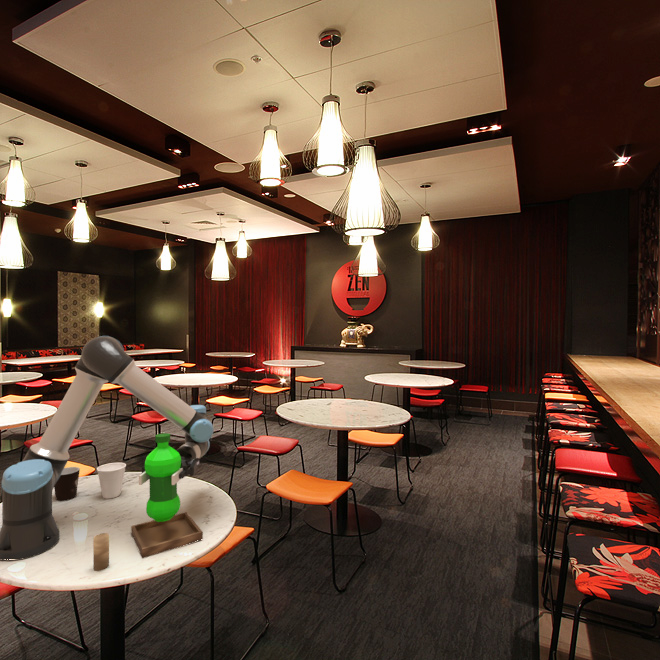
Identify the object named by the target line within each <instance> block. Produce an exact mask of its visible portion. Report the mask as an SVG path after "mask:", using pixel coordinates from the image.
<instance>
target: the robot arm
mask: <svg viewBox="0 0 660 660" xmlns="http://www.w3.org/2000/svg"><path fill="white" fill-rule="evenodd" d="M74 369H75V372H76V375H75V376H74V378H73V380H72V382H71V384H70V386H69V388H68V390H67V391H66V393H65V394H64V397H63V399H61V402H60V404H59V406H58V408H57V410H56V411H55V413H54V415H53V417H52V418H51V420H50V422H49V423H48V425H47V427H46V429H45V431H44V432H43V434H42V436H41V438H40V440H39V442H37V443H35V444H32V445H30V447H29V449H28V450H27V452H26V454H25V456H24V458H23V459H22V461H19V462H17V463H16V464H12V465H11V466H8V467H7V468H6V469H5V470H4V472H3V474H2V479H1V489H2V491H1V493H2V494H1V497H2V499H1V500H2V501H1V505H2V514H1V515H2V517H1V520H2V525H1V528H0V559H6V560H7V559H8V560H9V559H19V560H23V559H22V558H24V559H28V558H31V557H33V556H34V555H35V556H37V555H40V554H43V553H44V552H46V551H48V550H50V549H51V548H53V547H55V546H56V545H57V544H58V543H59V541H60V530H59V527H58V525H57V522H56V520H55V518H54V515H53V490H54V486H55V484H56V482H57V481H58V479H59V478H60V476H61V473H62V471H63V469H64V468H66V465H67V463H68V461H69V460H70V453H69V452H68V451H69V449H70V447H71V445H72V443H73V442H74V440H75V438H76V436H77V434H78V432H80V431H79V430H80V428H81V426H82V425H83V423H84V421H85V420H86V418H87V416H88V414H89V411H90V409H91V408H92V407H93V405H94V403H95V401H96V399H97V397H98V395H99V393H100V391H101V390H102V388H103V386H104V385H105V384H107V383H108V382H109V383H111V384H113V385H114V384H117V385H119V386H121V387H122V388H123V389H124V390H126V391H128V392H129V393H130V394H131V395H133V396H135V397H136V398H137V399H138V400H140V401H141V402H143V403H144V404H146V405H147V406H148V407H150V409H153V410H154V411H156V412H157V413H158V414H159V415H161V416H162V417H163V418H165V419H166V420H168V421H170V423H172V424H174V425H175V426H176V427H177V428H178V429H180V430H182V431H183V432H184V443H183V444H182V445H181V446H179V448H177V449H175V450H176V451H177V452H179V454H180V456H181V467H180V469H179V470H178V471H177V472H175V473H174V474H173V475H172V485H175V484H176V483H178V482H179V481H180V480H182V479H184V478H185V477H188V476H189V477H193V476H194V475H195V473H196V470H197V468H198V467H199V466H200V459H201V458H203V456H205V455H206V454H207V452H208V451H209V449H210V446H211V445H210V444H211V443H210V439H211V438H212V436H213V434H214V432H215V431H214V425H213V423H212V422H211V421H210V420H209V419H208V417H207V407H206V406H205V405H203V404H192V405H189V404H188V403H187V402H185V401H184V400H183V399H182V398H180V397H178V396H177V395H176V394H175V393H173V392H172V391H170V390H169V389H168V388H167V387H166V386H164V385H162V384H161V383H160V382H159V381H157V380H156V379H155V378H153V377H152V376H151V375H149V374H148V373H146V372H145V371H144V370H143V369H141V368H140V367H139V366H137V365H136V364H135V359H134V358H133V357H131V356H130V355H128V354H127V352H126V351H125V349H124V346H123V344H122V343H121V342H120V340H118V339H116V338H114V337H112V336H109V335H102V336H101V335H100V336H98V337H97V336H96V337H94V338H92V339H90V340H88V342H86V344H85V345H84V346H83V347H82V350H81V356H80V357H79V359H78V361H77V363H76V364H75V366H74ZM147 481H150V479H149V475H148V474H147V473H146V471H145V465H143V466H141V474H139V475H138V485H139V486H143V484H144V483H146V482H147ZM30 556H31V557H30ZM27 557H28V558H27ZM6 560H5V561H6ZM9 561H10V560H9Z"/></svg>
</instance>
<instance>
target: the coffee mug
mask: <svg viewBox="0 0 660 660" xmlns="http://www.w3.org/2000/svg"><path fill="white" fill-rule="evenodd" d="M80 471H81V470H80V467H77V466H68V467H64V469H63V471H62V473H61V476H60V478H59V479H58V481H57V482H56V484H55V486H54V488H53V490H54V495H55V500H56V501H57V502H65V501H66V502H67V501H70V500H73V499H75V498H76V497H77V495H78V494H77V493H78V485H79V477H80Z"/></svg>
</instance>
